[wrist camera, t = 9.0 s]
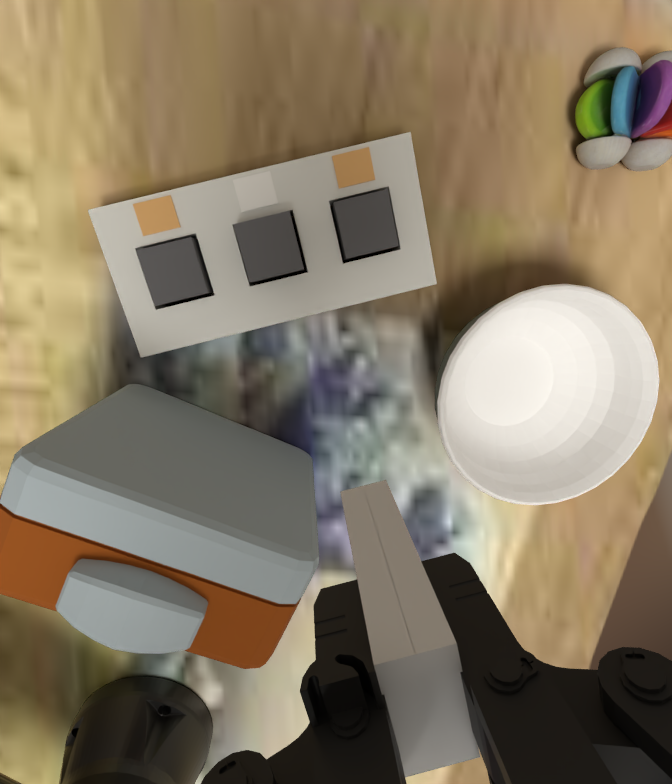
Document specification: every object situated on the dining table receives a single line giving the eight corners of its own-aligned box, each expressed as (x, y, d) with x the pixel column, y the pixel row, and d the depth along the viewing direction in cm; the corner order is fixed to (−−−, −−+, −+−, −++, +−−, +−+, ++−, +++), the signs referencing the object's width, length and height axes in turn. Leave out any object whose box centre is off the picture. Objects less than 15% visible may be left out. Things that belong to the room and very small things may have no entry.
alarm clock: (102, 458, 42) (-74, 615, 22) (133, 377, 41) (-27, 468, 21) (279, 524, 45) (263, 713, 26) (314, 451, 44) (327, 592, 24)
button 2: (166, 304, 39) (155, 305, 36) (149, 253, 38) (136, 250, 34) (215, 292, 39) (208, 292, 36) (200, 240, 38) (190, 236, 35)
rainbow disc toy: (655, 176, 40) (732, 153, 33) (554, 171, 39) (610, 146, 32) (675, 69, 38) (760, 21, 31) (568, 62, 37) (631, 10, 30)
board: (152, 352, 40) (140, 358, 37) (104, 215, 37) (86, 209, 34) (427, 283, 41) (437, 284, 38) (401, 143, 38) (411, 131, 34)
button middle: (253, 282, 38) (249, 282, 35) (238, 229, 37) (233, 224, 33) (303, 269, 38) (303, 268, 35) (290, 216, 37) (289, 210, 34)
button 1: (342, 260, 39) (346, 258, 36) (331, 208, 38) (334, 202, 35) (390, 248, 39) (398, 245, 36) (380, 196, 38) (387, 188, 35)
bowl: (572, 253, 41) (638, 246, 33) (612, 428, 46) (678, 459, 38) (386, 327, 41) (406, 338, 33) (445, 493, 46) (476, 538, 38)
